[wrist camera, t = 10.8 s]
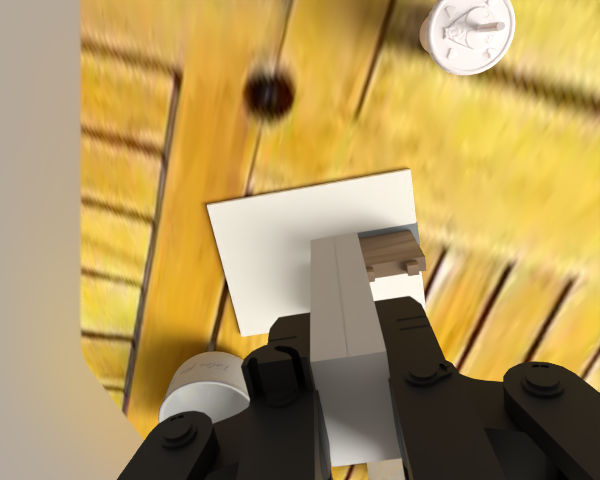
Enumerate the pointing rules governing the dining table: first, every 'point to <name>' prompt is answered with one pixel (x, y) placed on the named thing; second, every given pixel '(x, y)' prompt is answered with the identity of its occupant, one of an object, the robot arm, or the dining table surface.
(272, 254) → the card
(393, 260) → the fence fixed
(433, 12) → the smoothie
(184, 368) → the teacup
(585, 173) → the dining table surface
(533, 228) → the dining table surface
